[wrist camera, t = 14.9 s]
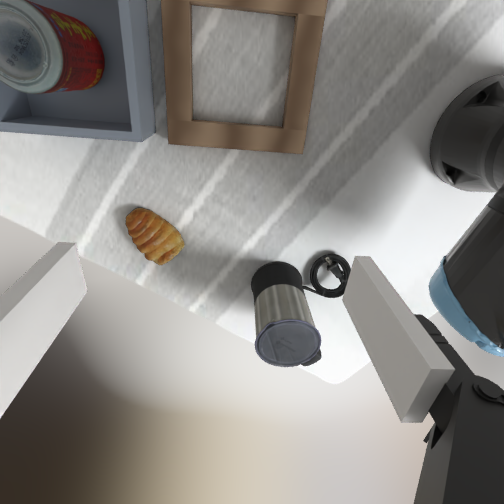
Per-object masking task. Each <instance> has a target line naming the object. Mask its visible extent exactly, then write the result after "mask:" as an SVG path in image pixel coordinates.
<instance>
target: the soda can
mask: <svg viewBox="0 0 504 504" xmlns="http://www.w3.org/2000/svg"><path fill="white" fill-rule="evenodd" d="M104 68H105V58H104V53H103V50H102V47H101V45H100V42H99V40H98V39H97V37H96V35H95V34H94V33H93V32H92V31H91V29H90V28H89V27H88V26H87V25H86V24H84V23H83V22H81V21H80V20H78V19H76V18H75V17H72V16H69V15H66V14H63V13H60V12H58V11H55V10H53V9H50V8H47V7H44V6H41V5H39V4H36V3H33V2H31V1H28V0H0V81H1V82H3V83H5V84H6V85H8V86H9V87H11V88H13V89H15V90H18V91H21V92H24V93H29V94H44V93H52V92H64V91H73V90H85V89H90V88H91V87H93V86H95V85H96V84H97V83H98V82H99V81H100V79H101V78H102V75H103V71H104Z"/></svg>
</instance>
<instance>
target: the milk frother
mask: <svg viewBox="0 0 504 504" xmlns="http://www.w3.org/2000/svg"><path fill="white" fill-rule="evenodd" d="M325 262H327V263H328V266H327V270H330V271H331V272H332V273H333V274H334V275H335V276H336V278H339V280H340V282H341V285H339V287H338V288H336V289H326V288H324V287H322V286H321V285H320V284H319V282H318V280H317V271H318V269H319V267H320V266H321V265H322V264H323V263H325ZM338 264H340V265H341V267H342V269H343V271H341V270H340V268H339V266H338ZM350 272H351V268H350V266H349V264H348V262H347V261H346V260H345V259H344V258H343V257H341V256H339V255H336V254H328V255H324V256H322V257H321V258H319V259H318V260H317V261H315V263H314V264H313V265H312V267H311V270H310V280H311V283H312V285H313V287H314V288H315V289H316V291H315V290H313V289H311V288H309V287H306V286H303V285H302V277H301V274H300V273H299V271H298V270H297V269H296V268H295V267H294V266H292V265H290V264H287V263H283V262H273V263H269V264H266V265H264V266H262V267H261V268H260V269H258V270H257V271H256V273H255V274H254V276H253V278H252V281H251V288H252V292H253V294H254V305H255V324H256V341H255V349H256V352H257V354H258V355H259V357H260V358H261V359H262V360H264V361H265V362H267V363H269V364H271V365H274V366H280V367H293V366H298V365H300V364H301V365H303V366H309V365H311V364H314V363H315V362H317V361H319V360H320V359H321V351H320V345H321V336H320V333H319V331H318V330H317V329H316V328H315V325H314V322H313V319H312V316H311V312H310V309H309V306H308V303H307V300H306V297H305V294H304V290H303V289H306V290H309V291H311V292H314V293H316V294H319V295H321V296H324V297H328V298H336V297H340V296H342V295H343V294H344V292H345V289H346V285H347V282H348V279H349V275H350ZM343 274H344V275H343Z"/></svg>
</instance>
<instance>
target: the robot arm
mask: <svg viewBox="0 0 504 504" xmlns="http://www.w3.org/2000/svg"><path fill="white" fill-rule="evenodd" d="M430 158H431V163H432V166H433V169H434V171H435V173H436V174H437V176H438V177H439V178H440V179H441V180H443V181H444V182H445V183H447V184H449V185H451V186H453V187H455V188H458V189H460V190H464V191H470V192H497V193H496V194H495V195H494V197H493V198H492V199H491V200H490V202H489V203H488V204H487V205H486V207H485V208H484V209H483V211H482V212H481V213H480V214H479V216H478V217H477V218H476V219H475V221H474V222H473V223H472V224H471V226H470V227H469V228H468V229H467V231H466V232H465V233H464V234H463V236H462V237H461V238H460V239H459V241H458V242H457V243H456V244H455V246H454V247H453V248H452V249H451V251H450V252H449V253H448V255H446V256H444V257H443V259H442V260H441V264H440V266H439V267H438V269H437V270H436V272H435V273H434V275H433V276H432V277H431V279H430V282H429V291H430V297H431V299H432V302H433V303H434V305H435V307H436V308H437V310H438V311H439V312H440V314H441V315H442V316H443V317H444V318H445V320H446V321H447V322H448V323H449V324H450V325H451V326H452V327H453V328H454V329H455V330H456V331H458V332H459V333H460V334H461V335H462V336H463V337H465V338H466V339H467V340H469V341H470V342H475V343H476V344H477V345H478V346H479V348H481V349H483V350H485V351H486V352H488V353H491V354H494V355H497V356H502V357H504V75H496V76H492V77H489V78H486V79H483V80H481V81H479V82H477V83H475V84H474V85H472V86H470V87H469V88H467V89H466V90H465V91H463V92H462V93H461V94H460V95H459V96H458V97H457V98H456V99H455V100H454V101H453V102H452V103H451V104H450V105H449V106H448V108H447V109H446V110H445V112H444V113H443V115H442V116H441V118H440V120H439V122H438V124H437V126H436V128H435V130H434V133H433V137H432V141H431V147H430ZM86 293H87V288H86V284H85V280H84V275H83V271H82V266H81V262H80V258H79V254H78V249H77V245H76V243H66V242H58V243H57V244H56V245H55V246H54V247H53V248H52V249H51V250H49V251H48V252H47V253H46V254H45V255H44V256H43V257H42V258H41V259H40V260H39V261H38V262H36V263H35V264H34V265H33V266H32V267H31V268H30V269H29V270H28V271H27V272H26V273H25V274H24V275H23V276H22V277H21V278H19V279H18V281H16V282H15V283H14V284H13V285H12V286H11V287H10V288H9V289H8V290H6V291H5V292H4V293H3V294H2V295H1V296H0V418H1V416H2V415H3V413H4V412H5V410H6V409H7V408H8V406H9V405H10V403H11V402H12V400H13V399H14V397H15V396H16V394H17V393H18V392H19V390H20V389H21V387H22V386H23V384H24V383H25V381H26V380H27V378H28V377H29V376H30V374H31V373H32V371H33V370H34V368H35V367H36V365H37V364H38V362H39V361H40V360H41V358H42V357H43V355H44V354H45V352H46V351H47V349H48V348H49V347H50V345H51V343H52V342H53V341H54V339H55V338H56V336H57V335H58V333H59V332H60V330H61V329H62V328H63V326H64V325H65V323H66V322H67V320H68V319H69V317H70V316H71V314H72V313H73V312H74V310H75V309H76V307H77V306H78V304H79V303H80V301H81V300H82V299H83V297H84V296H85V294H86ZM342 301H343V303H344V305H345V307H346V309H347V311H348V313H349V315H350V317H351V319H352V321H353V324H354V326H355V328H356V330H357V332H358V334H359V336H360V338H361V340H362V342H363V344H364V346H365V348H366V351H367V353H368V355H369V357H370V359H371V361H372V363H373V365H374V367H375V369H376V371H377V373H378V375H379V377H380V380H381V381H382V384H383V386H384V388H385V390H386V392H387V394H388V396H389V398H390V400H391V402H392V404H393V406H394V409H395V410H396V413H397V415H398V417H399V419H400V421H401V422H402V423H403V422H405V423H408V422H412V423H413V422H415V423H419V422H420V423H421V422H423V420H424V419H425V417H426V415H427V414H428V412H429V413H430V414H431V416H432V418H433V419H434V421H435V423H434V425H433V426H432V428H431V429H430V431H429V433H428V434H427V436H426V437H425V439H424V442H426V443H427V442H428V445H427V449H426V454H425V458H424V462H423V466H422V471H421V475H420V479H419V484H418V488H417V492H416V496H415V500H414V504H504V390H503V389H501V388H500V387H499V386H498V385H497V384H495V383H493V382H491V381H490V380H488V379H486V378H483V377H480V376H476V375H474V373H473V372H472V371H471V370H470V368H469V367H468V366H467V365H466V363H465V362H464V361H463V360H462V358H461V357H460V356H459V355H458V353H457V352H456V351H455V350H454V348H453V347H452V346H451V345H450V344H448V341H447V340H446V339H445V337H444V336H442V335H441V332H440V331H439V330H438V329H437V327H436V326H435V325H434V324H433V323H432V322H431V321H429V320H428V319H427V318H425V317H424V316H423V315H414V314H413V313H412V312H411V310H410V309H409V308H408V306H407V305H406V304H405V302H404V301H403V300H402V298H401V297H400V296H399V294H398V293H397V292H396V290H395V289H394V288H393V286H392V285H391V284H390V282H389V281H388V280H387V278H386V277H385V276H384V274H383V273H382V272H381V270H380V269H379V268H378V266H377V265H376V264H375V262H374V261H373V260H372V259H371V257H366V256H355V258H354V261H353V265H352V268H351V272H350V275H349V279H348V282H347V285H346V289H345V292H344V296H343V299H342ZM428 440H429V441H428Z"/></svg>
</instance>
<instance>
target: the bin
mask: <svg viewBox="0 0 504 504" xmlns="http://www.w3.org/2000/svg"><path fill="white" fill-rule="evenodd" d="M28 1H31V2H33V3H36V4H39V5H41V6H44V7H47V8H50V9H53V10H55V11H58V12H60V13H63V14H66V15H69V16H72V17H75V18H76V19H78V20H80V21H81V22H83V23H84V24H86V25H87V26H88V27H89V28H90V29H91V31H92V32H93V33H94V34H95V35H96V37H97V39H98V40H99V42H100V45H101V47H102V50H103V53H104V58H105V68H104V71H103V75H102V78H101V79H100V81H99V82H98V83H97V84H96V85H95V86H93V87H91V88H90V89H85V90H73V91H64V92H52V93H44V94H29V93H24V92H21V91H18V90H15V89H13V88H11V87H9V86H8V85H6V84H5V83H3V82H1V81H0V131H1V132H15V133H28V134H42V135H55V136H68V137H82V138H95V139H108V140H122V141H135V142H143V141H144V140H146V139H147V138H149V137H150V136H151V135H153V134H154V133H156V127H155V114H154V100H153V86H152V72H151V58H150V44H149V30H148V16H147V2H146V0H28Z"/></svg>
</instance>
